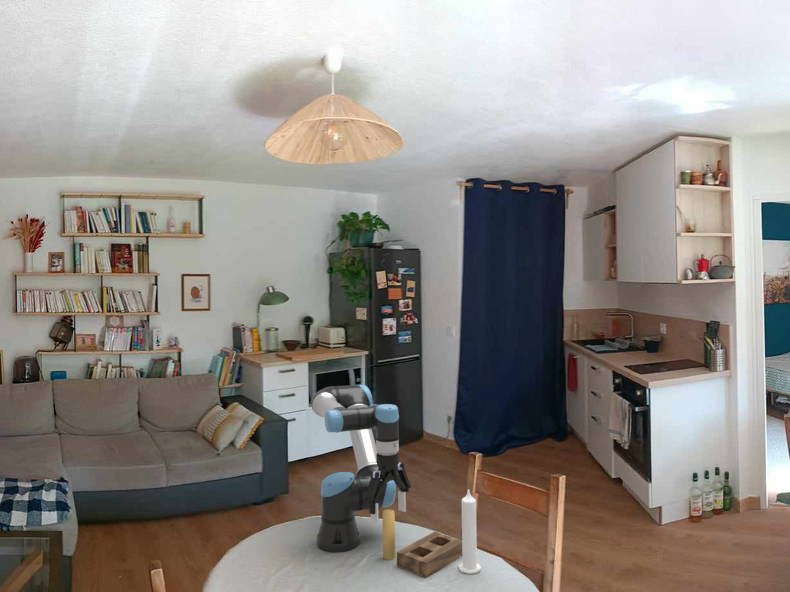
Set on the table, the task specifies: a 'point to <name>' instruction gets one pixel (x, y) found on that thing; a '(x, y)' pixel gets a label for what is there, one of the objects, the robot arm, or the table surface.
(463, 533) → the candle
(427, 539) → the socket block
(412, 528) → the table surface
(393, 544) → the peg
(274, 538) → the table surface
